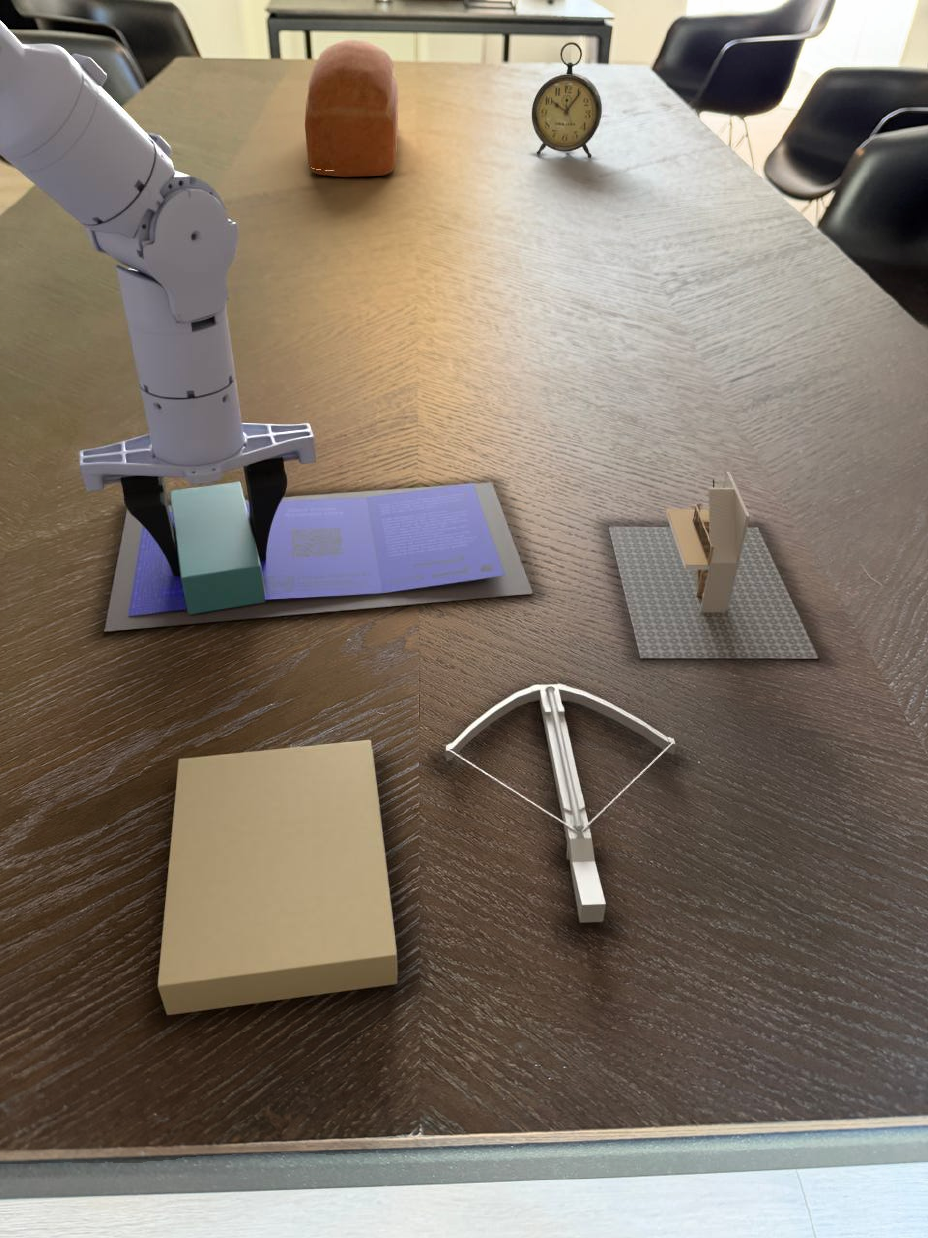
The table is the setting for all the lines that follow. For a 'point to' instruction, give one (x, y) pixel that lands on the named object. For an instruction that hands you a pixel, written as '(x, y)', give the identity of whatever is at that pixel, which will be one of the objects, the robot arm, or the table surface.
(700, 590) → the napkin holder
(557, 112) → the alarm clock
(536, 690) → the crossbow
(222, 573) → the teal rectangular block
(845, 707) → the table surface
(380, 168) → the bread
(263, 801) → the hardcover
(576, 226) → the table surface
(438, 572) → the booklet
